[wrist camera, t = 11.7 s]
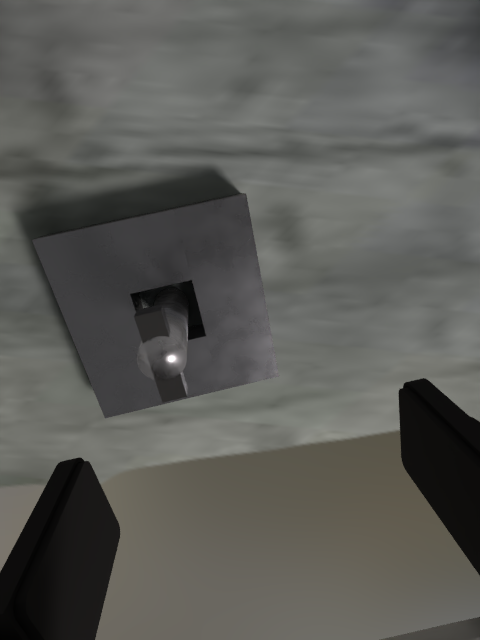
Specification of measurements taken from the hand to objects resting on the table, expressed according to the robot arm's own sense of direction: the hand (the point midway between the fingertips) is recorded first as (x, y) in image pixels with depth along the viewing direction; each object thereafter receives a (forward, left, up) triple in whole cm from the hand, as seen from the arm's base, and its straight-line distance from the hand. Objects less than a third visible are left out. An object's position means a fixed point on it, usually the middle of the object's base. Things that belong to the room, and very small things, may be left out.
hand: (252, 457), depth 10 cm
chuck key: (+4, +1, -23) cm, 23 cm away
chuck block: (+4, +2, -22) cm, 23 cm away
